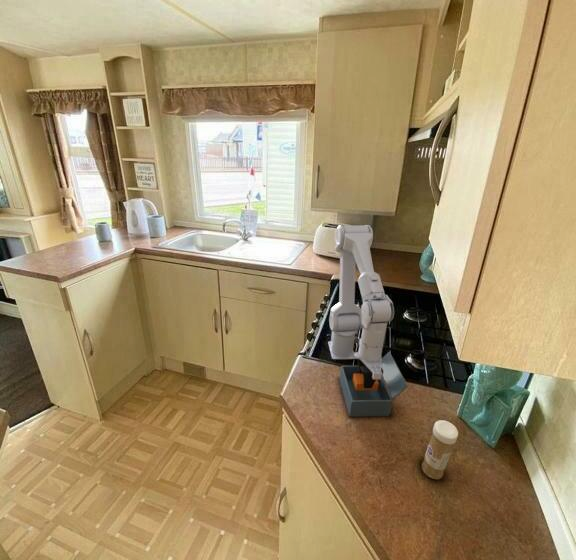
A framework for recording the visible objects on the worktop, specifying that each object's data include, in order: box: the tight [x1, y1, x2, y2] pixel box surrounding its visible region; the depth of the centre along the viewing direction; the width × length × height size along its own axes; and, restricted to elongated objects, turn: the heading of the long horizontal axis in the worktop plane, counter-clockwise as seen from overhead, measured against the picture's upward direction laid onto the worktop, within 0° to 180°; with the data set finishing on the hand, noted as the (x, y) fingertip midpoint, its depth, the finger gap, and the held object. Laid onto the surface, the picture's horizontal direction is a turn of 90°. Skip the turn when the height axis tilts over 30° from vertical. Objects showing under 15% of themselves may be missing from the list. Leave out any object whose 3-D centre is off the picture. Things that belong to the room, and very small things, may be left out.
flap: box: [381, 351, 409, 400], centre depth 86 cm, size 14×5×1 cm
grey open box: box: [339, 365, 394, 418], centre depth 88 cm, size 14×11×5 cm
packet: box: [353, 374, 379, 390], centre depth 87 cm, size 6×4×2 cm, turn 93°
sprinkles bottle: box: [421, 419, 459, 480], centre depth 67 cm, size 5×5×14 cm
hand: (365, 381), depth 87 cm, fingers closed on packet, 4 cm apart
